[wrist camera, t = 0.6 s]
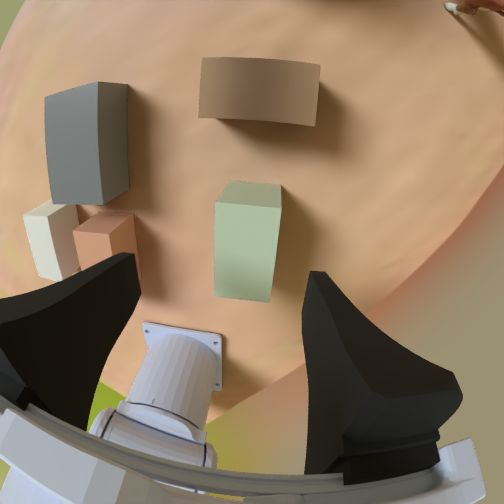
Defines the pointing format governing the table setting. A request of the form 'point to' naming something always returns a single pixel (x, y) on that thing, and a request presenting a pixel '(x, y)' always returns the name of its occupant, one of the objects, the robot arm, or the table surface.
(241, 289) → the sage brick
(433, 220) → the table surface
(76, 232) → the terracotta brick
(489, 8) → the bull figurine
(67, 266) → the pale grey brick
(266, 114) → the walnut brick
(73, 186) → the charcoal brick
